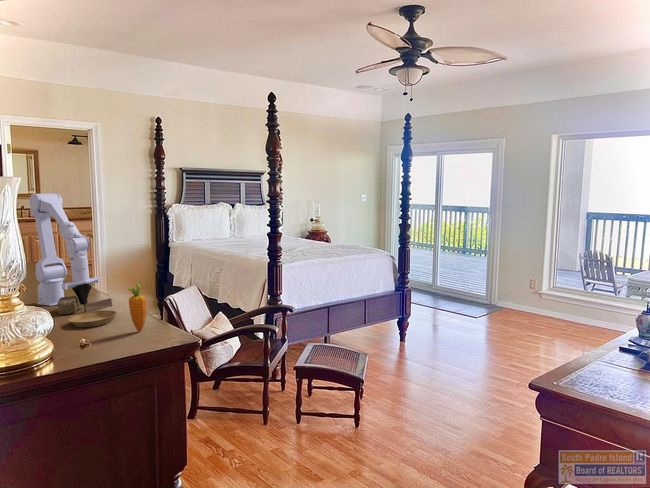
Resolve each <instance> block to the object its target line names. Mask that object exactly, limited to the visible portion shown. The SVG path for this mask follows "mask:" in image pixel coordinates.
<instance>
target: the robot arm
mask: <svg viewBox="0 0 650 488" xmlns="http://www.w3.org/2000/svg"><path fill="white" fill-rule="evenodd" d="M28 203H29V208H30V213H31V215H32V216H33V217H34V220H35V225H36V231H37V236H38V241H39V248H40V253H41V259H40V260H39V261H37V263H35V278H36V280H37V281H38V282H40V283H38V286H37V298H38V302H36V305H42V306H49V307H50V306H51V307H52V306H56V305H57V306H58V301H59V299H60V298H61V297H65V291H64V290H68V289H71V290H72V291H73V292H74V294H75V296H77V297H78V299H79V302H80V304H81V305H80V306H84V305H85V304H88V303H87V301H88V297H89V294H90V291H91V290H92V286H93V285H92V284H96V283H100V282H101V277H99V276H98V277H97V276H95V277H90V272H89V271H90V270H89V261H88V251H89V250H90V246H91V245H90V241H89V239H88V237H87V236H85V235H84V234H81V232H80V231H79V229H78V227H77V225H76V224H75V222H72V221H69V219H68V216H67V215H66V212H65V210H64V208H63V203H64V202H63V198H62V196H61V194H59V193H58V192H55V193H36V192H35V193H31V195H30V197H29V200H28ZM52 217H53V219H54V220H55V221H56V222H57V224H58V225H59V227H58V231H59V233H60V235H61V236H62V239H63V240H64V241H65V250H66V251H67V256H68V258H69V259H70V269H71V280H72V281H68V282H66V283H64V281H65V279H66V277H67V275H68V269H67V267H66V265H65V261H64V259H62V258H60V257H58V256H57V255H58V254H57V250H56V245H55V239H54V234H53V228H52V223H51V222H52V221H51V218H52Z"/></svg>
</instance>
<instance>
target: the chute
mask: <svg viewBox="0 0 650 488" xmlns="http://www.w3.org/2000/svg"><path fill="white" fill-rule="evenodd" d="M77 304H78V306H82V305H81V304H80V302H79V299H78V297H77ZM112 306H113V300H112V298H110V297H109V298H105V299H102V300H97V301H94V302H89V303H88V300H87V304H85V305H83V308H84V310H83V311H84V313H86V312H92V311H100V310H103V309H106V308H110V307H112Z"/></svg>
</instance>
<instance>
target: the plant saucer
mask: <svg viewBox="0 0 650 488" xmlns="http://www.w3.org/2000/svg"><path fill="white" fill-rule="evenodd" d="M117 313H118V312H117V311H115V310H109V309H108V310H106V309H105V310H103V309H101V310H96V311H92V312H86V313H85V312H82V313H79V314H75V315H71V316H70V317H69V318H68V319H67V320H68V322H70V323H71V324H72V325H74V326H75V327H78V328H93V327H97V326H98V327H99V326H103V325H106V324H109V323H110V322H112V321H113V320H114V318H115V317H116V316H117Z"/></svg>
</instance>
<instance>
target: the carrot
mask: <svg viewBox="0 0 650 488" xmlns="http://www.w3.org/2000/svg"><path fill="white" fill-rule="evenodd" d="M141 288H142V286H141V285H140V283H138V282H137V283H136V288H135V286H131V287H128V288H127V289H128V291H130V292H131V293H132V294H133V295H132V296H130V297H128V305H129V306H128V307H129V313H130V317H131V321H132V323H133V326H134V327H135V329H136V330H137V332H139V333H141V332H142V330H143V328H144V325H145V322H146V317H147V299H146V296H144V295H142V294H140V291H141Z"/></svg>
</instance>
